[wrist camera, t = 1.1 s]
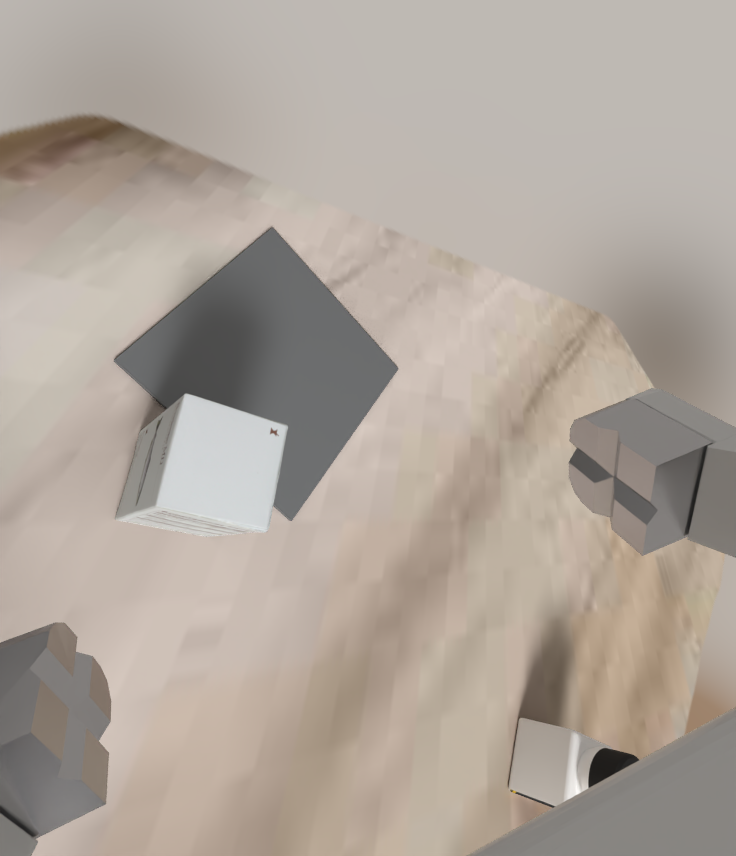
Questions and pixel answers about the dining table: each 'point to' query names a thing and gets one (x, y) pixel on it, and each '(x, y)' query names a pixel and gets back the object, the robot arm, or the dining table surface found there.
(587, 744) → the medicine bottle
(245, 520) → the supplement box
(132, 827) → the dining table surface
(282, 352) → the mat
